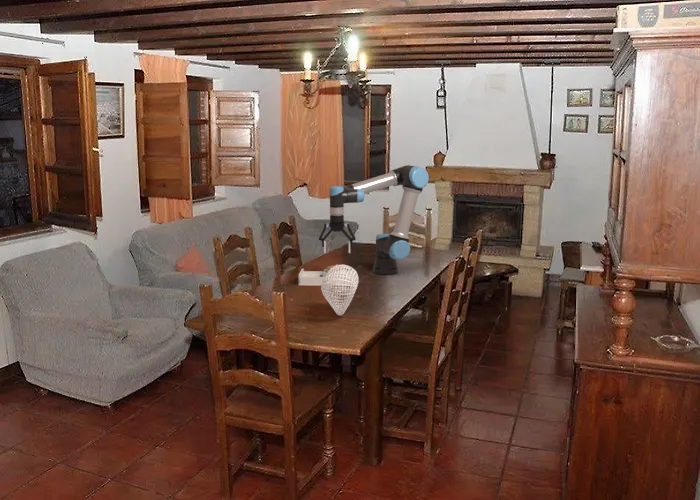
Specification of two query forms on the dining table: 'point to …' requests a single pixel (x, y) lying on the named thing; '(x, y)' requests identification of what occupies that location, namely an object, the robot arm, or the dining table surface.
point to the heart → (327, 283)
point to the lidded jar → (334, 269)
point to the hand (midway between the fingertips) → (337, 252)
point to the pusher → (324, 273)
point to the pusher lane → (316, 278)
